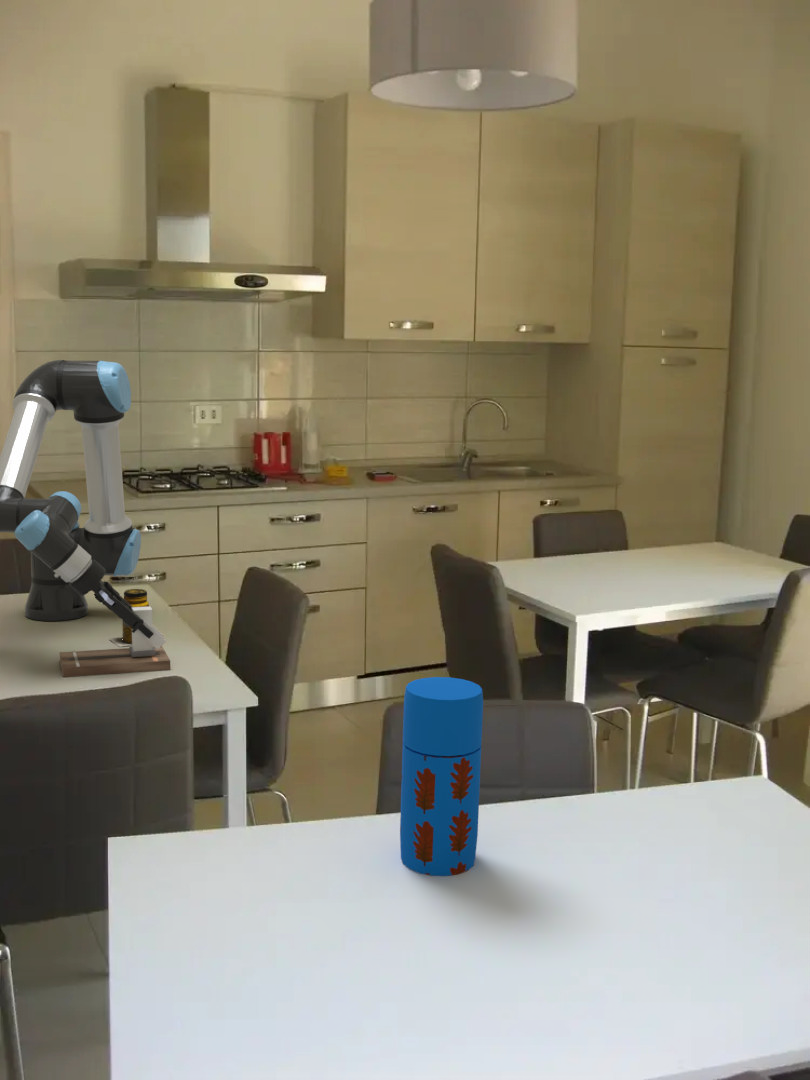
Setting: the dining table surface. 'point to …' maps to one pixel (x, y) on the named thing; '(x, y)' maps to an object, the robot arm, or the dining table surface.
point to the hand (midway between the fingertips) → (160, 642)
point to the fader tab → (138, 642)
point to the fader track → (110, 662)
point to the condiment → (135, 600)
